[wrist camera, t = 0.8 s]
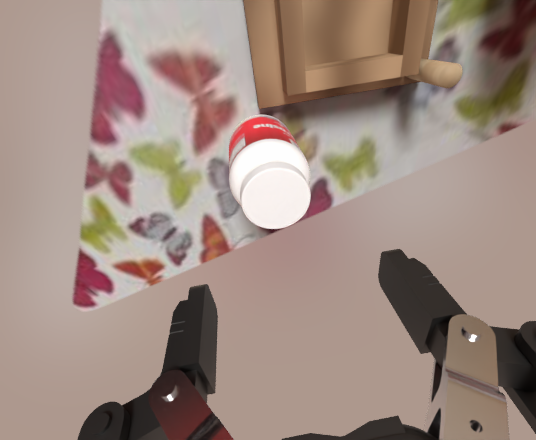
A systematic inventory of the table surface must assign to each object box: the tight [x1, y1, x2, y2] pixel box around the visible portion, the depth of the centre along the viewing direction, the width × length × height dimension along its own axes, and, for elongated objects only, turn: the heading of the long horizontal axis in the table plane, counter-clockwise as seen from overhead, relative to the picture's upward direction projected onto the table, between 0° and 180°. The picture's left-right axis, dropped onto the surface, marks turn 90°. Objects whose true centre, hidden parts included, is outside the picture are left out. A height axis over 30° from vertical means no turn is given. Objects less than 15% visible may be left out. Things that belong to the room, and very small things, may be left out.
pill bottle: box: [229, 115, 311, 229], centre depth 23 cm, size 6×6×11 cm
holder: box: [243, 0, 462, 109], centre depth 19 cm, size 15×13×6 cm
